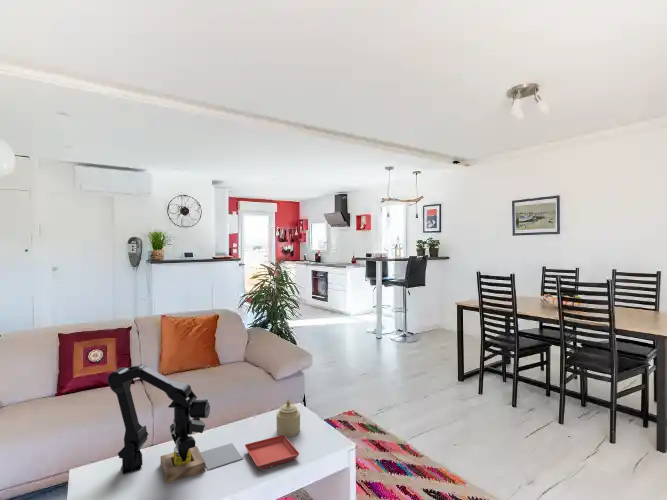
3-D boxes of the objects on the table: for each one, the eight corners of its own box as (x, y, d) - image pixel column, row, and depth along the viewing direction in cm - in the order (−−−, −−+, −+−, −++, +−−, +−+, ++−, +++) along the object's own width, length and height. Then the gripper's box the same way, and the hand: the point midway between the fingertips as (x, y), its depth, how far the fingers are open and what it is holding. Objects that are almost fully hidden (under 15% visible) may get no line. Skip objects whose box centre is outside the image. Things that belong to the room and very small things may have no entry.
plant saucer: (283, 441, 171) (283, 433, 171) (300, 461, 155) (300, 453, 155) (244, 452, 162) (244, 444, 162) (257, 474, 146) (257, 466, 146)
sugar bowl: (269, 425, 184) (269, 395, 184) (290, 420, 190) (290, 390, 190) (282, 439, 172) (282, 406, 172) (304, 432, 178) (304, 400, 177)
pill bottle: (174, 474, 146) (174, 446, 146) (173, 466, 152) (173, 438, 151) (191, 469, 149) (191, 442, 149) (189, 461, 154) (189, 434, 154)
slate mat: (207, 470, 149) (207, 469, 149) (199, 453, 160) (199, 452, 160) (242, 459, 156) (242, 458, 156) (232, 443, 168) (232, 443, 168)
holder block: (166, 483, 141) (166, 474, 141) (160, 464, 152) (160, 456, 152) (205, 471, 148) (205, 462, 148) (196, 454, 160) (196, 445, 160)
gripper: (209, 421, 146) (209, 461, 147) (197, 404, 162) (197, 440, 162) (178, 429, 140) (178, 471, 141) (169, 410, 156) (169, 448, 156)
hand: (182, 456), depth 150 cm, fingers closed on pill bottle, 6 cm apart
